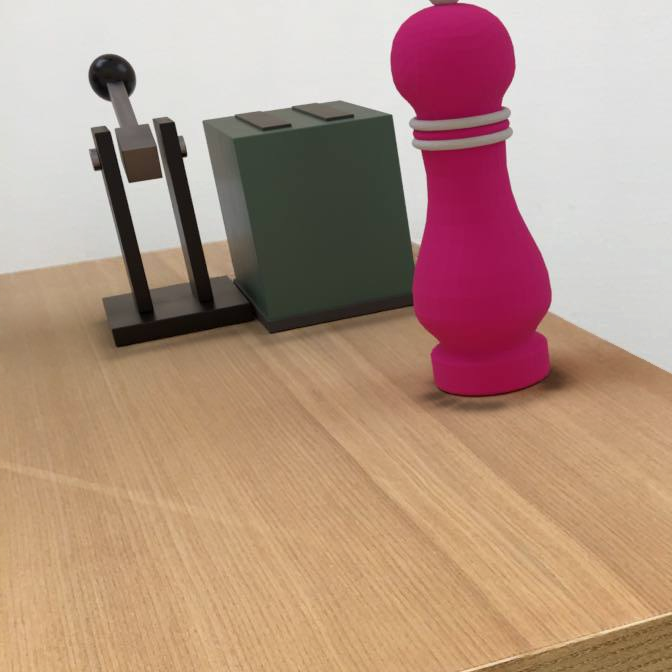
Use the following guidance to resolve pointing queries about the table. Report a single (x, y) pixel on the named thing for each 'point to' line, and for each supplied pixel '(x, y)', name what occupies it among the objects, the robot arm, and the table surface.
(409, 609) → the table surface
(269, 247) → the toaster
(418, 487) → the table surface
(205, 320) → the bracket
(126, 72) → the lever
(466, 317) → the pepper mill
